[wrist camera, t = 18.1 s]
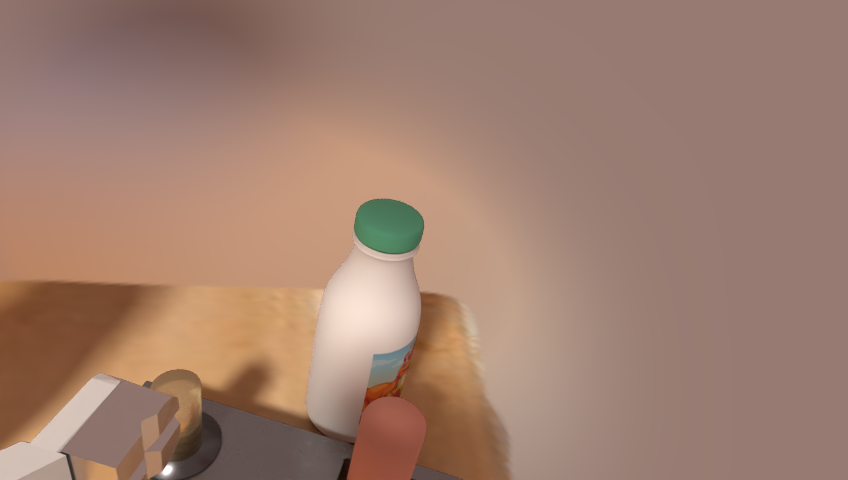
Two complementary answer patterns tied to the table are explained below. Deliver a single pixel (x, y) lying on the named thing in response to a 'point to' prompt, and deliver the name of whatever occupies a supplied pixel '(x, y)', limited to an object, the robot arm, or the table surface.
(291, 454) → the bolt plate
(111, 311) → the table surface
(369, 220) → the milk bottle
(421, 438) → the red peg
